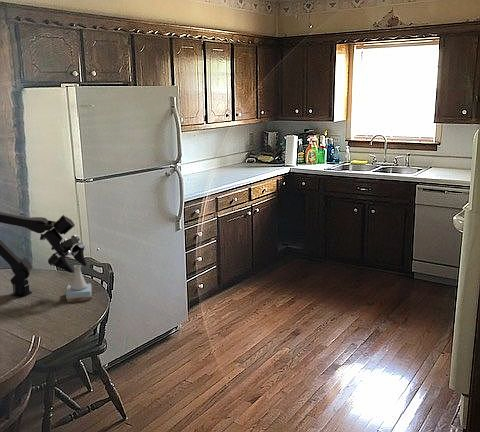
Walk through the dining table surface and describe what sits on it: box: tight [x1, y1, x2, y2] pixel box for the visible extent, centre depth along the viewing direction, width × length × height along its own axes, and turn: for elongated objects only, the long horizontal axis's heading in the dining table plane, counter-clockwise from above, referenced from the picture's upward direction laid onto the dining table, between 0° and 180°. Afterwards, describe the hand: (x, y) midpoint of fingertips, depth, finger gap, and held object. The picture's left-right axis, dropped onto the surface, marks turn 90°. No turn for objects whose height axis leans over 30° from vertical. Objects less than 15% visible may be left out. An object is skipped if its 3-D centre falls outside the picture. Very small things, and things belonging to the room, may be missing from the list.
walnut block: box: [66, 289, 93, 303], centre depth 235 cm, size 10×10×2 cm
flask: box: [70, 264, 88, 290], centre depth 233 cm, size 7×7×10 cm
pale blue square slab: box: [65, 282, 93, 300], centre depth 234 cm, size 10×10×2 cm
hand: (78, 268), depth 232 cm, fingers open, 9 cm apart
